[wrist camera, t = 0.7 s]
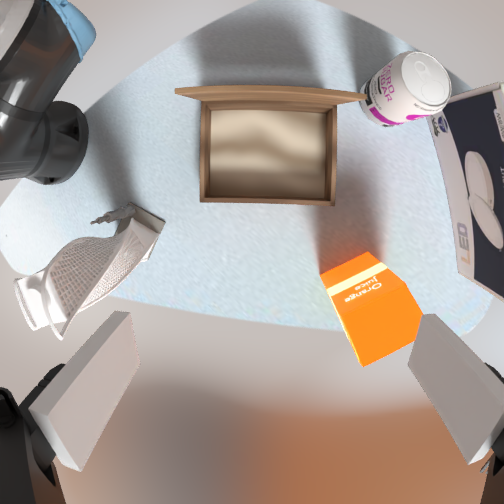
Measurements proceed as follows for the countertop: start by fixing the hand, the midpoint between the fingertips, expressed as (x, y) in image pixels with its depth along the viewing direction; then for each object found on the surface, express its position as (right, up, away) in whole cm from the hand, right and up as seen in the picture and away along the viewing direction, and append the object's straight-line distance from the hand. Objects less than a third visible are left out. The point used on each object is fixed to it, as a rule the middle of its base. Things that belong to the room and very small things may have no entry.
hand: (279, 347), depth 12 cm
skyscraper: (-19, +6, +35) cm, 40 cm away
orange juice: (+15, -1, +35) cm, 38 cm away
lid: (+1, +24, +23) cm, 33 cm away
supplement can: (+19, +27, +28) cm, 43 cm away
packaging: (+35, +15, +30) cm, 48 cm away
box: (+1, +18, +30) cm, 35 cm away
